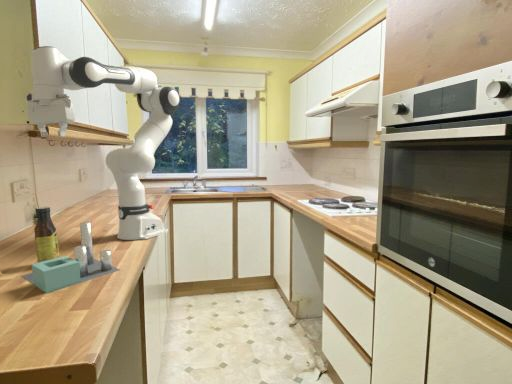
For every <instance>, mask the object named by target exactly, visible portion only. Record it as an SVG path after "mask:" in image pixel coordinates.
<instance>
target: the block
mask: <svg viewBox="0 0 512 384" xmlns="http://www.w3.org/2000/svg"><path fill="white" fill-rule="evenodd" d="M31 271H32V272H31V273H32V274H33V283H34V285H33V286H35V287H36V286H37V287H36V288H37V289H39V290H40V291H42V292H44V293H45V294H49V293H48V292H50V293H52V292H51V291H54V290H57V289H60V288H63V287H66V286H69V287H71V286H70V285H72V286H74V285H73V284H75V285H77V284H76V283H78V284H80V283H79V282H81V278H80V266H79V262H78V261H76V260H75V259H73V258H71V257H69V256H67V255H64V256H59V258H55V259H51V260H47V261H43V262H39V263H38V262H36V263H32V264H31ZM66 288H67V287H66ZM63 289H64V288H63ZM60 290H61V289H60ZM57 291H58V290H57ZM54 292H55V291H54Z"/></svg>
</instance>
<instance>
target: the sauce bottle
mask: <svg viewBox="0 0 512 384" xmlns="http://www.w3.org/2000/svg"><path fill="white" fill-rule="evenodd" d="M35 214H36V220H37V222H36V224H35V226H34V229H33V230H34V231H33V232H34V240H35V242H34V243H35V249H36V258H37V263H39V262H43V261H47V260H51V259H55V258H59V257H60V249H59V241H58V231H57V228H56V226H55V224H54V223H53V220H52V218H51V207H50V206H40V207H36V208H35Z"/></svg>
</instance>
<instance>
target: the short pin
mask: <svg viewBox="0 0 512 384" xmlns="http://www.w3.org/2000/svg"><path fill="white" fill-rule="evenodd" d="M99 259H100V260H99V261H100V263H101V271H109V270H111V269H112V266H113V262H112V251H111V249H103V250H100V251H99Z"/></svg>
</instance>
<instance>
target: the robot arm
mask: <svg viewBox="0 0 512 384" xmlns="http://www.w3.org/2000/svg"><path fill="white" fill-rule="evenodd" d="M30 56H31V57H30V68H31V74H32V76H33V84H32V87H33V88H32V89H31V91H30V92H29V93H28V94H26V95H25V96H24V97H25V98H24V99H25V102H27V104H26V105H27V107H26V108H27V110H26V111H27V117H28V118H27V119H28V121H29V123H30V124H31V125H37V128H38V130H39V132H40V136H41V138H48V137H49V132H48V131H47V129H46V127H47V125H53V124H55V125H56V124H58V126H59V130H58V131H57V137H66V135H67V134H66V133H67V132H66V131H67V128H68V123H70V124H71V123H75V121H76V116H75V115H76V114H75V110H74V109H75V108H74V105H73V102H72V100H71V97H70V96H69V95H68V94H66V93H65V92H64V91H65V90H68V91H79V90H83V89H92V88H96V87H100V86H101V85H104V84H110V85H111V84H113V85H114V86H115V87H116V89H117V90H118V91H119V92H122V93H125V94H136V102H137V105H138V108H139V109H140V110H142V111H143V112H146V113H150V115H149V117H148V119H146V121H145V122H144V123H143V124H141V127H140V128H139V129H138V130H137V131H136V132H135V133H134V136H133V138H134V143H133V145H131V146H130V147H129V148H117V149H113V150H111V151H109V152H108V153H107V155H106V157H105V165H106V166H107V168H108V170H110V172H111V173H112V175H113V179H114V181H115V184H116V187H117V194H118V206H117V208H118V209H117V210H118V212H117V213H118V218H119V224H118V232H117V237H116V238H117V239H119V240H124V241H132V240H148V239H151V238H154V237H157V236H160V235H162V234H166V233H169V228H167V227H164V223H163V220H162V218H161V217H159V216H157V215H155V214H154V213H153V212H152V211H150V210H153V209H154V208H155V206H154V204H151V203H149V204H147V202H146V188H145V185H144V184H143V183H142V181H140V178H139V176H138V175H142V174H143V175H144V174H147V173H149V172H152V171H153V169H154V168H155V165H156V158H155V152H156V150H157V149H158V147H159V146H160V145H161V144H162V142H163V140H165V138H166V137H167V135H168V134H169V132H170V130H171V129H172V126H173V118H172V117H171V116H173V115H175V113H176V111H177V109H178V108H179V106H180V103H181V102H180V101H181V98H180V96H181V95H180V92H178V90H177V89H176V88H174V87H172V86H159V85H158V77H157V76H156V74H155V73H154V72H153V71H152V70H150V69H147V68H144V67H140V66H139V67H138V66H133V65H132V66H131V65H122V66H115V65H108V64H107V65H106V64H103V63H101V62H99V61H97V60H95V59H93V58H92V57H88V56H79V58H76V59H74V60H71V59H69V58H68V57H66V56H64V55H63V54H62V52H60V51H59V49H58V48H57V47H54V46H48V45H46V46H45V45H43V46H37V47H35V48H32V51H31V55H30Z"/></svg>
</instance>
